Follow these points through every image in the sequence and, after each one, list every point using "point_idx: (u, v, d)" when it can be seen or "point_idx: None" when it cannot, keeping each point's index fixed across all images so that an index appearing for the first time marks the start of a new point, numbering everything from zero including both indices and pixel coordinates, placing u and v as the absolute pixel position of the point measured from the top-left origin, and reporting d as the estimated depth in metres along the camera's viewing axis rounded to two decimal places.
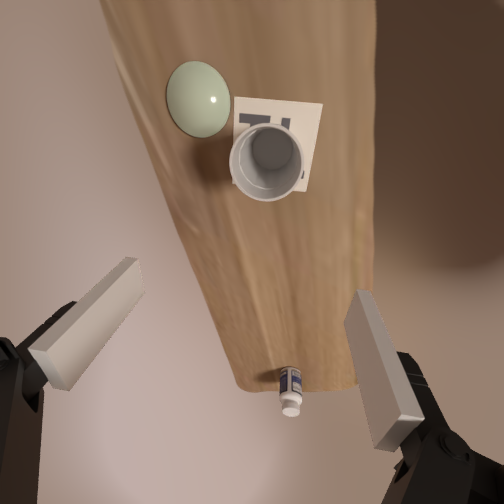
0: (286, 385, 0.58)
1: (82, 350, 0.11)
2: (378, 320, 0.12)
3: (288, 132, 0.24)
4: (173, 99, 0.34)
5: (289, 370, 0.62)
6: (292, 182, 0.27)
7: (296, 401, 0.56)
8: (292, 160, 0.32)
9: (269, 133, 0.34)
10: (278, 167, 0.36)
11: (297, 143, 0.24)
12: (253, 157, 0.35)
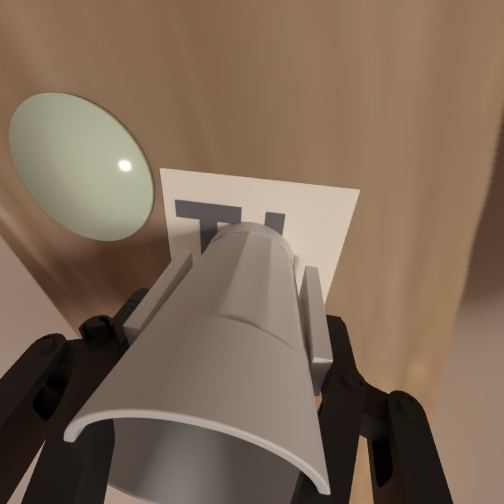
0: None
1: None
2: (317, 289, 0.13)
3: (267, 446, 0.05)
4: (29, 170, 0.16)
5: None
6: (287, 477, 0.09)
7: None
8: None
9: None
10: None
11: (306, 470, 0.06)
12: None
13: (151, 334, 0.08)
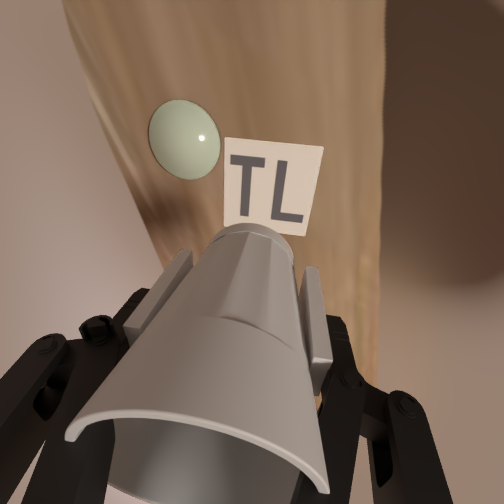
0: None
1: None
2: (317, 289, 0.13)
3: (267, 446, 0.05)
4: (156, 139, 0.30)
5: None
6: (287, 477, 0.09)
7: None
8: None
9: None
10: None
11: (305, 470, 0.06)
12: None
13: (151, 334, 0.08)
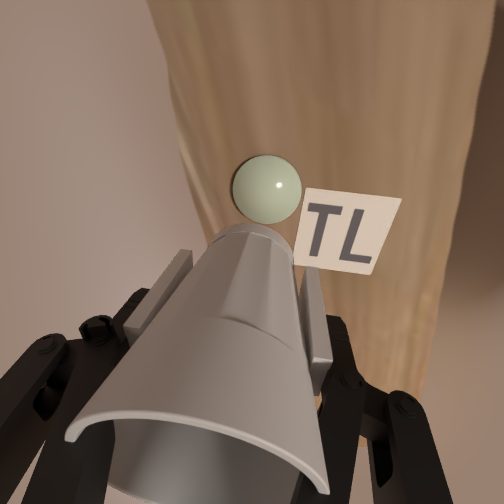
0: None
1: None
2: (317, 289, 0.13)
3: (267, 447, 0.05)
4: (240, 188, 0.32)
5: None
6: (287, 478, 0.09)
7: None
8: None
9: None
10: None
11: (305, 471, 0.06)
12: None
13: (151, 335, 0.08)
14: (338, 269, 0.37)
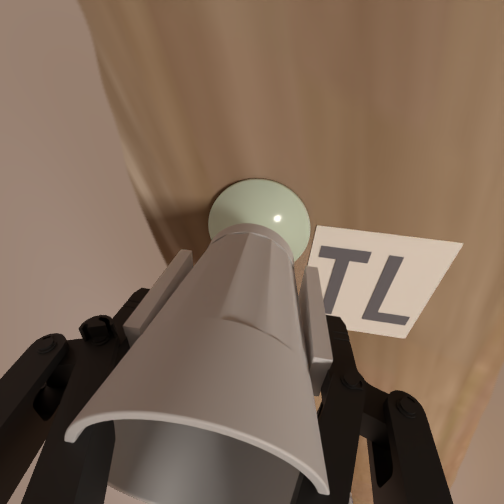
0: None
1: None
2: (317, 289, 0.13)
3: (267, 447, 0.05)
4: (219, 225, 0.22)
5: None
6: (287, 478, 0.09)
7: None
8: None
9: None
10: None
11: (305, 471, 0.06)
12: None
13: (151, 335, 0.08)
14: (360, 330, 0.27)
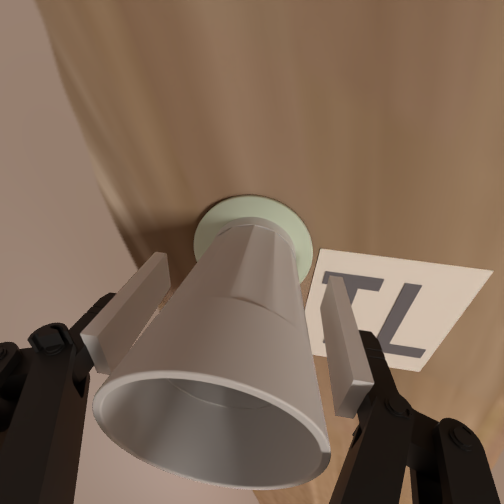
0: None
1: (123, 337, 0.12)
2: (346, 302, 0.13)
3: (276, 402, 0.06)
4: (206, 248, 0.19)
5: None
6: (291, 446, 0.10)
7: None
8: None
9: None
10: None
11: (309, 426, 0.07)
12: None
13: (168, 313, 0.09)
14: None
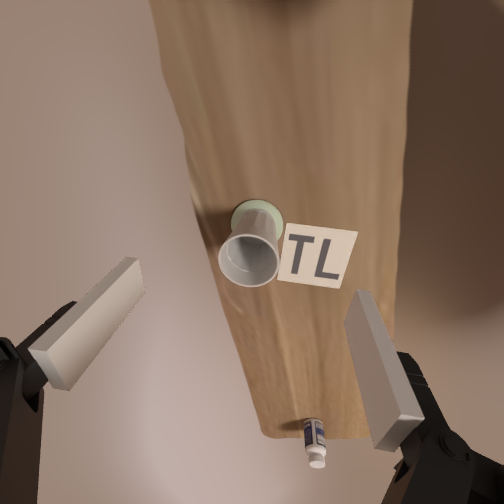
0: (311, 438, 0.65)
1: (82, 350, 0.11)
2: (378, 320, 0.12)
3: (265, 241, 0.30)
4: (236, 222, 0.42)
5: (312, 421, 0.68)
6: (270, 272, 0.33)
7: (321, 454, 0.62)
8: None
9: None
10: (262, 243, 0.41)
11: (273, 248, 0.30)
12: None
13: (236, 230, 0.32)
14: (314, 284, 0.47)
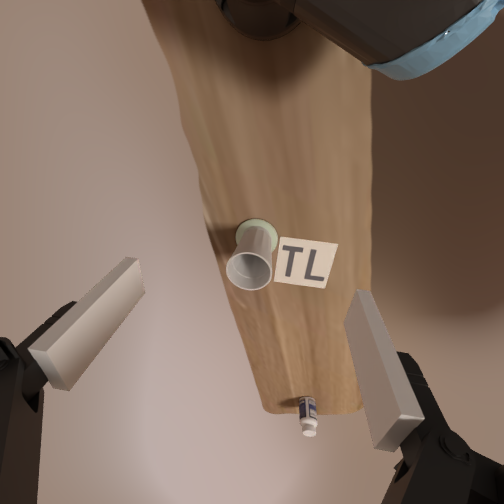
0: (305, 412, 0.76)
1: (82, 350, 0.11)
2: (378, 320, 0.12)
3: (261, 257, 0.40)
4: (240, 236, 0.52)
5: (306, 399, 0.79)
6: (266, 279, 0.43)
7: (313, 425, 0.74)
8: None
9: None
10: None
11: (267, 262, 0.40)
12: None
13: (239, 247, 0.42)
14: (304, 284, 0.57)
